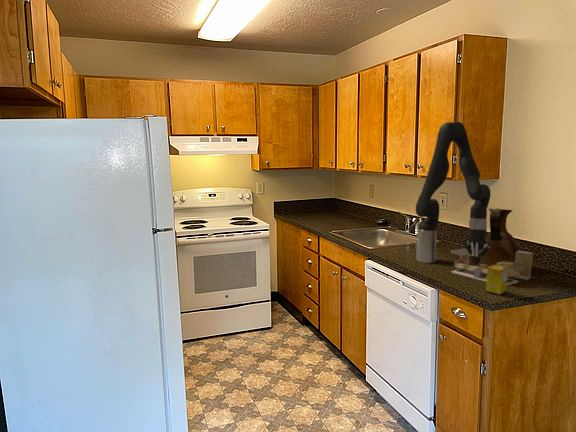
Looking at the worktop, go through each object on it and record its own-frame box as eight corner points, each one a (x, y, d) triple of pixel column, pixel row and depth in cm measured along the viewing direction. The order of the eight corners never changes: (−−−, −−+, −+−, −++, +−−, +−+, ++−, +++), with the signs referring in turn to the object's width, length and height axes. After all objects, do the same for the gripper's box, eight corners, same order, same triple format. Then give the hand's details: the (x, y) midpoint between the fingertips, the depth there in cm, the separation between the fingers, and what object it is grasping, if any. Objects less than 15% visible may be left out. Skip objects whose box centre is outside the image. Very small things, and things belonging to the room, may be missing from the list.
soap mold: (465, 252, 252) (465, 246, 252) (489, 260, 233) (489, 254, 233) (450, 253, 250) (450, 247, 249) (472, 261, 231) (473, 255, 230)
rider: (459, 264, 208) (459, 254, 208) (464, 263, 211) (464, 253, 210) (468, 266, 204) (468, 256, 204) (473, 265, 206) (473, 255, 206)
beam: (454, 267, 209) (454, 255, 209) (463, 264, 213) (463, 253, 212) (506, 277, 187) (506, 265, 187) (515, 275, 191) (515, 262, 191)
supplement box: (492, 289, 183) (493, 264, 181) (506, 292, 178) (508, 267, 177) (485, 292, 179) (486, 267, 177) (500, 296, 175) (501, 269, 173)
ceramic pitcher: (521, 265, 220) (525, 207, 215) (516, 275, 203) (520, 212, 199) (480, 260, 231) (483, 204, 226) (472, 269, 214) (475, 209, 210)
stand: (451, 272, 209) (451, 264, 208) (464, 269, 215) (464, 261, 214) (505, 286, 187) (505, 277, 186) (518, 282, 192) (518, 273, 192)
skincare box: (513, 277, 199) (514, 251, 197) (516, 275, 202) (518, 250, 200) (528, 280, 195) (530, 254, 193) (531, 278, 198) (533, 252, 196)
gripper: (460, 226, 204) (458, 262, 207) (486, 230, 193) (484, 268, 196) (469, 224, 208) (468, 259, 211) (495, 228, 197) (493, 265, 200)
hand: (476, 263), depth 203 cm, fingers closed
